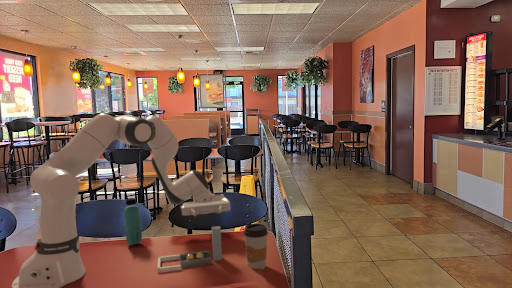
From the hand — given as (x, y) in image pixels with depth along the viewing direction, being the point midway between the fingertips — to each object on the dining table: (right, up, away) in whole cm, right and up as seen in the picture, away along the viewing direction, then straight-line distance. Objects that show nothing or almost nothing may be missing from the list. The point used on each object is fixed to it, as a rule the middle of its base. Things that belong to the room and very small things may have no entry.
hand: (207, 212), depth 155 cm
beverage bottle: (-32, -15, +8) cm, 36 cm away
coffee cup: (+20, -17, -17) cm, 31 cm away
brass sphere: (-1, -16, -12) cm, 20 cm away
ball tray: (-12, -17, -15) cm, 26 cm away
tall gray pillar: (+5, -16, -11) cm, 20 cm away
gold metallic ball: (-5, -16, -13) cm, 21 cm away
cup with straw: (-62, -17, -2) cm, 65 cm away
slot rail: (-3, -17, -12) cm, 21 cm away
